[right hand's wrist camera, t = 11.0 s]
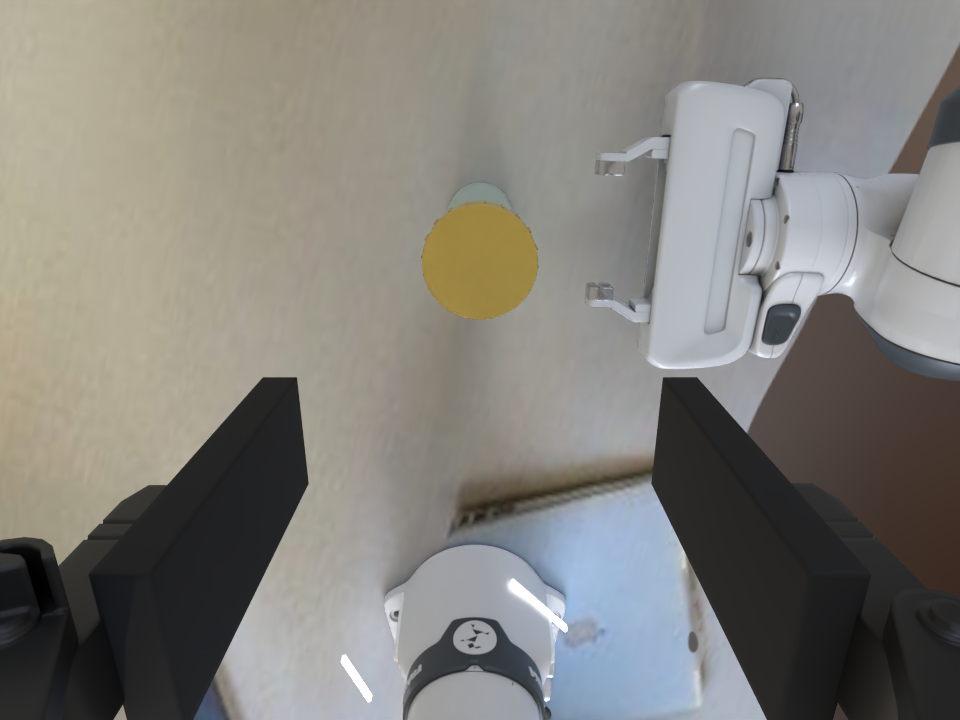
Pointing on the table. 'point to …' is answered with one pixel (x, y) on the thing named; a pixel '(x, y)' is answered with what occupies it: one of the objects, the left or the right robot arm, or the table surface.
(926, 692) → the right robot arm
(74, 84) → the table surface
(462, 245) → the lid
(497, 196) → the green thermos bottle
